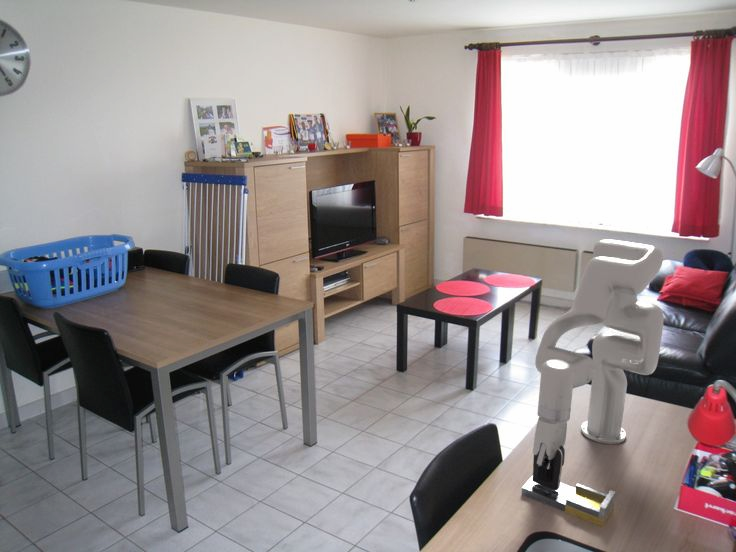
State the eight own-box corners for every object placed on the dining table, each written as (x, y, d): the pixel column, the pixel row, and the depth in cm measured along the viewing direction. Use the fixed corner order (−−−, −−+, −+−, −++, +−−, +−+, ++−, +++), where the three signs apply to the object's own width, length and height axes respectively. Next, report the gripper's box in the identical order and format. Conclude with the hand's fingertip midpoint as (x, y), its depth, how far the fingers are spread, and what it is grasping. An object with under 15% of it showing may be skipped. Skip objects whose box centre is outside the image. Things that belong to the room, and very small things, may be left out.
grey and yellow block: (534, 479, 157) (535, 462, 156) (613, 509, 145) (615, 491, 144) (521, 494, 151) (523, 476, 149) (602, 527, 139) (605, 508, 138)
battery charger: (563, 485, 150) (567, 444, 147) (557, 492, 147) (561, 451, 144) (536, 474, 154) (540, 435, 151) (530, 481, 151) (534, 441, 148)
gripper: (552, 393, 154) (546, 456, 159) (525, 419, 141) (519, 486, 146) (581, 402, 149) (574, 466, 154) (556, 429, 136) (549, 498, 141)
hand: (547, 475), depth 150 cm, fingers closed on battery charger, 3 cm apart
